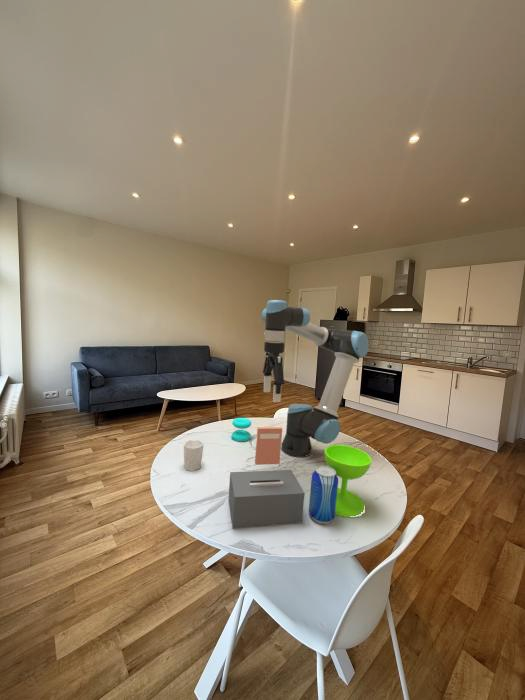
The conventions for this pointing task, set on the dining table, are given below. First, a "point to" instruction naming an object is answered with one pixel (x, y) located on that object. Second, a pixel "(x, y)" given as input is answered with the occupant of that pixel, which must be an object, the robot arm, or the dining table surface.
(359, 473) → the wineglass
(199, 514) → the dining table surface
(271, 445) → the ticket
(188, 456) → the white cup
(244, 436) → the donuts
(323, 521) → the beer can
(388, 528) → the dining table surface
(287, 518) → the dispenser
